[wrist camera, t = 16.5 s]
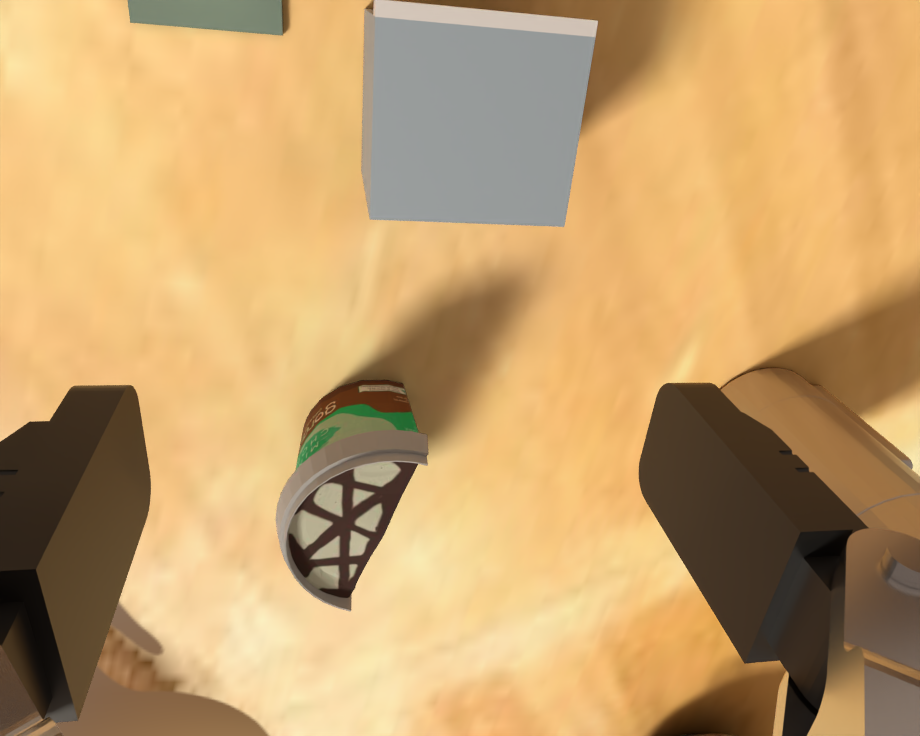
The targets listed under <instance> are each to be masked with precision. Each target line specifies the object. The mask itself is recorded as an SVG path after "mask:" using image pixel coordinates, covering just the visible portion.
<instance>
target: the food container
mask: <svg viewBox="0 0 920 736" xmlns="http://www.w3.org/2000/svg"><path fill="white" fill-rule="evenodd" d="M427 455H428V440H427V435H426V434H422V433H419V432H418V429H417V426H416V423H415V420H414V416H413V413H412V410H411V407H410V404H409V401H408V398H407V394H406V391H405V388H404V385H403V384H402V383H397V382H393V381H389V380H362V381H358V382H355V383H351V384H348V385H345V386H341V387H339V388H337V389H336V390H334V391H333V392H331V393H329V394H328V395H326V396H325V397H323V398H322V399H321V400H320V401H319V402H318V403H317V404H316V405H315V407H314V408H313V409H312V410H311V411H310V413H309V415H308V417H307V419H306V422H305V425H304V428H303V433H302V438H301V444H300V449H299V454H298V460H297V465H296V470H295V472H294V473H293V474H292V476H291V477H290V478H289V479H288V481H287V483H286V485H285V487H284V488H283V490H282V492H281V495H280V498H279V501H278V504H277V511H276V527H277V534H278V538H279V543H280V547H281V551H282V554H283V557H284V560H285V562H286V564H287V565H288V567H289V569H290V571H291V572H292V574H293V576H294V577H295V579H296V580H297V581H298V582H299V584H300V585H301V586H302V587H303V588H304V589H305V590H306V591H308V592H309V593H310V594H311V595H312V596H314V597H315V598H317V599H319V600H321V601H322V602H324V603H326V604H329V605H331V606H334V607H336V608H339V609H343V610H347V611H351V593H352V592H353V590H354V589H355V586H356V583H357V581H358V579H359V577H360V575H361V573H362V571H363V569H364V567H365V566H366V564H367V562H368V560H369V559H370V557H371V555H372V554H373V552H374V550H375V549H376V547H377V546H378V544H379V542H380V541H381V539H382V537H383V536H384V534H385V531H386V529H387V527H388V525H389V523H390V520H391V518H392V516H393V513H394V511H395V509H396V507H397V505H398V503H399V501H400V498H401V496H402V494H403V492H404V491H405V489H406V487H407V485H408V483H409V481H410V479H411V477H412V475H413V473H414V471H415V469H416V467H417V465H418V464H422V465H428V463H427Z"/></svg>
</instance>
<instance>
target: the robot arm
mask: <svg viewBox="0 0 920 736" xmlns="http://www.w3.org/2000/svg"><path fill="white" fill-rule="evenodd" d="M912 468H913V465H912V462H911V460H910V459H909V458H908V457H907V456H906V455H905V454H904V453H902V452H901V451H900V450H899V449H897V448H896V447H895V446H894V445H893V444H891V443H890V442H889V441H888V440H887V439H885V438H884V437H883V436H882V435H880V434H879V433H878V432H877V431H876V430H874V429H873V428H872V427H871V426H870V425H868V424H867V423H866V422H865V421H863V420H862V419H861V418H860V417H859V416H857V415H856V414H855V413H854V412H852V411H851V410H850V409H849V408H848V407H846V406H845V405H844V404H843V403H842V402H840V401H839V400H838V399H837V398H835V397H834V396H833V395H832V394H831V393H829V392H828V391H827V390H826V389H825V388H823V387H822V386H820V385H811V384H810V383H808V382H807V381H806V380H805V379H804V378H802V377H801V376H800V375H798V374H796V373H794V372H793V371H790V370H786V369H782V368H765V369H760V370H755V371H752V372H750V373H747V374H744V375H742V376H740V377H738V378H737V379H735V380H733V381H731V382H730V383H728V384H727V385H726V386H725V387H723V388H722V389H721V390H720V389H719V388H718V387H717V386H716V385H714V384H712V383H667V384H665V385H663V386H662V387H661V388H660V390H659V392H658V394H657V397H656V401H655V405H654V408H653V412H652V416H651V420H650V424H649V428H648V431H647V435H646V439H645V443H644V447H643V450H642V454H641V458H640V463H639V482H640V487H641V491H642V494H643V497H644V499H645V500H646V502H647V504H648V505H649V507H650V509H651V510H652V512H653V514H654V515H655V517H656V519H657V520H658V522H659V523H660V525H661V527H662V528H663V530H664V532H665V533H666V535H667V537H668V538H669V540H670V542H671V543H672V545H673V546H674V548H675V550H676V551H677V553H678V555H679V556H680V558H681V560H682V561H683V563H684V564H685V566H686V568H687V569H688V571H689V573H690V574H691V576H692V578H693V579H694V581H695V583H696V584H697V586H698V587H699V589H700V591H701V592H702V594H703V596H704V597H705V599H706V601H707V602H708V604H709V606H710V607H711V609H712V610H713V612H714V614H715V615H716V617H717V619H718V620H719V622H720V624H721V625H722V627H723V629H724V630H725V632H726V633H727V635H728V637H729V638H730V640H731V642H732V643H733V645H734V647H735V648H736V650H737V651H738V653H739V655H740V656H741V658H742V660H743V661H744V663H755V662H766V661H777V660H780V661H781V663H782V664H783V666H784V667H785V669H786V672H785V674H784V676H783V678H782V681H781V683H780V686H779V690H778V697H777V705H776V713H775V721H774V729H773V736H920V476H919V475H918V474H916V473H915V472H914V471H913V470H912ZM150 494H151V480H150V470H149V464H148V458H147V451H146V445H145V438H144V432H143V426H142V419H141V413H140V407H139V401H138V396H137V393H136V390H135V389H134V387H133V386H131V385H104V386H73V387H72V388H71V389H70V390H69V391H68V393H67V394H66V396H65V398H64V399H63V401H62V402H61V404H60V405H59V407H58V409H57V410H56V412H55V413H54V415H53V416H52V418H51V420H50V421H41V422H29V423H27V424H26V425H24V426H23V427H21V428H20V429H18V430H17V431H16V432H14V433H13V434H11V435H10V436H8V437H7V438H5V439H4V440H2V441H1V442H0V736H63V734H62V733H61V731H60V729H59V728H58V727H57V725H56V723H57V722H68V721H78V719H79V716H80V713H81V710H82V708H83V705H84V702H85V699H86V696H87V693H88V690H89V687H90V684H91V681H92V678H93V675H94V672H95V669H96V666H97V663H98V660H99V657H100V654H101V652H102V649H103V646H104V643H105V640H106V637H107V634H108V631H109V628H110V625H111V622H112V619H113V616H114V613H115V610H116V607H117V604H118V601H119V598H120V595H121V593H122V590H123V587H124V584H125V581H126V578H127V575H128V572H129V569H130V566H131V563H132V560H133V557H134V554H135V551H136V548H137V545H138V542H139V539H140V536H141V534H142V531H143V528H144V525H145V522H146V519H147V515H148V511H149V505H150Z"/></svg>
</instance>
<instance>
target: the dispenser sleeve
mask: <svg viewBox="0 0 920 736" xmlns="http://www.w3.org/2000/svg"><path fill="white" fill-rule="evenodd" d="M597 25H598V21H596V20H589V19H579V18H569V17H559V16H549V15H538V14H528V13H518V12H507V11H497V10H487V9H477V8H466V7H456V6H446V5H435V4H425V3H415V2H404V1H394V0H374V9H365V17H364V67H363V117H362V167H361V171H362V177H363V183H364V189H365V195H366V201H367V206H368V212H369V218H370V219H373V220H399V221H425V222H452V223H478V224H505V225H531V226H558V227H564V226H565V220H566V214H567V208H568V202H569V195H570V189H571V183H572V177H573V171H574V165H575V159H576V153H577V147H578V141H579V135H580V129H581V123H582V116H583V110H584V104H585V98H586V92H587V86H588V80H589V74H590V68H591V62H592V56H593V50H594V44H595V38H596V31H597Z"/></svg>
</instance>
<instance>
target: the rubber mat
mask: <svg viewBox="0 0 920 736" xmlns="http://www.w3.org/2000/svg"><path fill="white" fill-rule="evenodd" d="M128 7H129V15H130V22H131V23H143V24H155V25H166V26H178V27H190V28H201V29H213V30H225V31H237V32H248V33H260V34H272V35H283V19H282V0H128Z"/></svg>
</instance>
